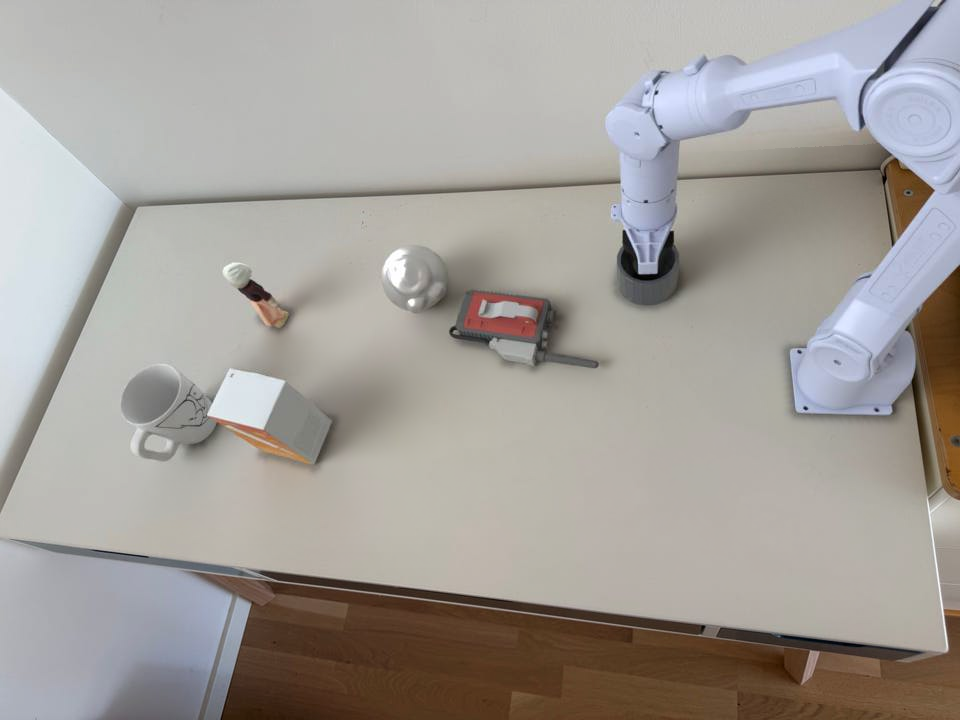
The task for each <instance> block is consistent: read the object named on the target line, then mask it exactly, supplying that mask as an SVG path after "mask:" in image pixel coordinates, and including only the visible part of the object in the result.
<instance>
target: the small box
mask: <svg viewBox="0 0 960 720" xmlns="http://www.w3.org/2000/svg"><path fill="white" fill-rule="evenodd" d="M211 403H212V405H211V407H210V410H209V412H208V414H207V416H208V417H209V418H211V419H213V420H214V421H216V422H217V423H218V424H219V425H221V426H222V427H223V428H225V429H227V430H228V431H230V432H231V433H233V434H234V435H236V436H237V437H239V438H241V439H242V440H244V441H245V442H247V443H248V444H250V445H251V446H253V447H254V448H256V449H257V450H259V451H261V453H264V454H265V453H266V454H271V455H275V456H278V457H282V458H283V457H284V458H287V459H291V460H295V461H298V462H302V463H304V464H305V463H306V464H309V465H312V466H314V465H315V464H316V462H317V460H318V457H319V455H320V452H321V450H322V447H323V445H324V443H325V440H326V438H327V435H328V433H329V431H330V428H331V425H332V423H333V420H332V419H331V418H329V417H328V416H327V415H326V414H325V413H323V412H322V411H321V410H320V409H319V408H318V406H317V407H316V405H314V404H313V403H312V402H311V401H310V400H309V399H308V398H306V397H305V396H304V395H303V394H302V393H301V392H299V391H298V390H297V389H296V388H295V387H294V386H293V385H292V384H291V383H290V382H288V381H287V380H285V379H281V378H277V377H274V376H269V375H265V374H261V373H258V372H252V371H246V370H242V369H237V368H233V367H231V368H229V369H228V371H227V373H226V375H225V377H224V379H223V381H222V382H221V385H220V387H219V389H218V391H217V393H216V395H215V397H214V399H213V402H211Z"/></svg>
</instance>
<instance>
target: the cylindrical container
mask: <svg viewBox="0 0 960 720" xmlns="http://www.w3.org/2000/svg"><path fill="white" fill-rule="evenodd" d="M634 260H635V259H634V257H633V255H632V254H631V253H629V252H628V251H626V250H624V247H623V245H622V246H621V247H620V248H619V250H618V252H617V255H616V273H617V275H616V276H617V285H618V289H619V291H620V294H622V296H623V297H624V298H625V299H626V300H628V301H629V302H631V303H633V304H635V305H639V306H654V305H655V306H656V305H658V304H661V303H663V302H665V301H667V300H668V299H669V298H670V297H671V296H672V295H673V294H674V293H675V291H676V289H677V286H678V282H679V280H678V279H679V271H680V253H679V250H678V248H677V246H676V245H675V243H674V244H673V246H672V248H671V249H670V250H668V251H666V252H665V253H664V254H663V255H662V257H661V259H660V270H659V279H656V280H652V281H642V280H638V279H635V278H633V262H634Z"/></svg>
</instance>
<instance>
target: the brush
mask: <svg viewBox="0 0 960 720" xmlns="http://www.w3.org/2000/svg"><path fill="white" fill-rule="evenodd" d="M659 270H660V262H659V264H658V272H657V274H645V272H644V274H638V266H637V264H636V261H635V260H634V262H633V278H635V279H638V280H642V281H652V280H656V279H659Z"/></svg>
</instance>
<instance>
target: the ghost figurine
mask: <svg viewBox="0 0 960 720" xmlns="http://www.w3.org/2000/svg"><path fill="white" fill-rule="evenodd" d="M380 280H381V285H382V289H383V292H384V294H385V296H386V297H387V299H388V300H389V301H390V302H391V303H392V304H393V305H394V306H395V307H397V308H400V309H401V310H404V311H407V312H411V313H412V314H416V315H417V314H421V313H423V312H424V311H425V310H429V309H430V308H432V307H434V306H435V305H436V304H437V303H439V302H440V300H442V299H443V298H444V296H445V295H446V293H447V288H448V282H449V281H448V280H449V275H448V270H447V267H446V265H445V262H444V261H443V259H442V258H441V256H440V255H439V254H438V253H437V252H435V250H432V249H431V248H429V247H427V246H424V245H419V244H410V245H409V244H408V245H405V246H402V247H399V248H397V249H396V250H395V251H393V252H392V253H391V254H390V255H389V256H388V258H386V260H385V262H384V264H383V266H382V270H381V279H380Z"/></svg>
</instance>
